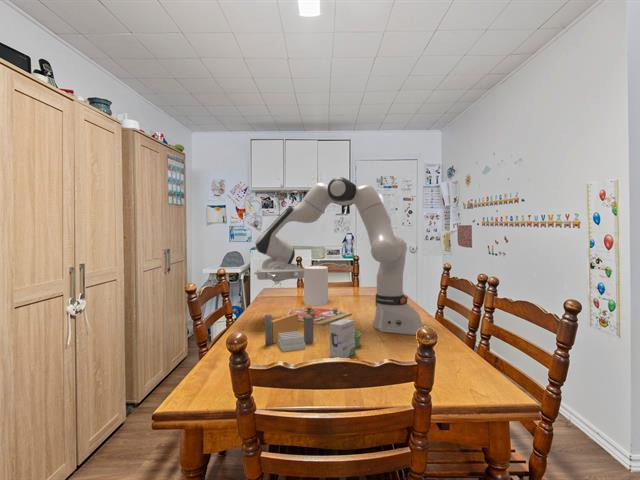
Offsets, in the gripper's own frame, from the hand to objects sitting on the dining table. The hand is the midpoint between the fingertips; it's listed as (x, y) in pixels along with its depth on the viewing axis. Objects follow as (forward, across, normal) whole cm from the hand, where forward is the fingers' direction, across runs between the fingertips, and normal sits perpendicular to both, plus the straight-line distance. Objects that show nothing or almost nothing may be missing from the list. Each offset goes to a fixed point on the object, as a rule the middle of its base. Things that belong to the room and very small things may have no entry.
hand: (284, 277), depth 152 cm
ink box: (+33, +12, +22) cm, 41 cm away
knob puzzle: (-22, +20, +24) cm, 38 cm away
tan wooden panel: (+11, -3, +21) cm, 24 cm away
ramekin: (+24, +19, +22) cm, 37 cm away
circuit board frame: (+16, -2, +22) cm, 28 cm away
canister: (-48, +31, +25) cm, 62 cm away
